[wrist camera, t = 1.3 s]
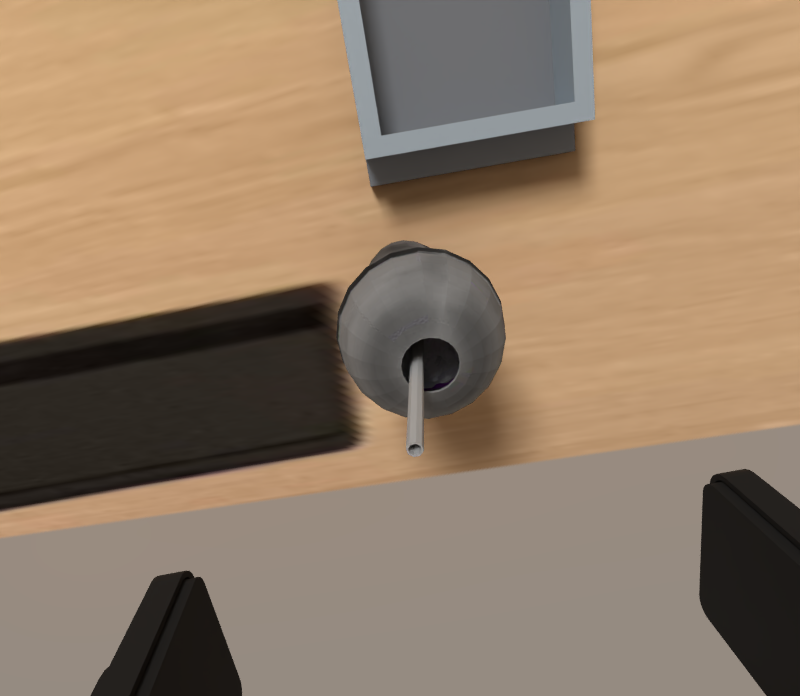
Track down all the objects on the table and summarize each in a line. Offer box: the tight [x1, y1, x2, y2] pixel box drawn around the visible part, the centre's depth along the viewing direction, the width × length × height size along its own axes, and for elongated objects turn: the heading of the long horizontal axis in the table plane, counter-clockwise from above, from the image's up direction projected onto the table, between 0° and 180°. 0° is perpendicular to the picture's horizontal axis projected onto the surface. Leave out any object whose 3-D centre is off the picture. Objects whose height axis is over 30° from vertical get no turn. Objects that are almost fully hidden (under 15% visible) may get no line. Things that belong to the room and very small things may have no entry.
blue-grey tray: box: [337, 0, 595, 187], centre depth 27 cm, size 12×15×4 cm
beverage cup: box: [336, 241, 506, 457], centre depth 24 cm, size 7×7×20 cm
